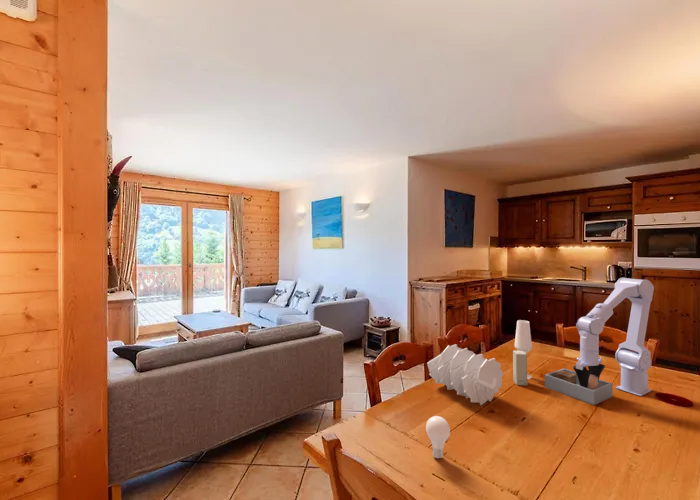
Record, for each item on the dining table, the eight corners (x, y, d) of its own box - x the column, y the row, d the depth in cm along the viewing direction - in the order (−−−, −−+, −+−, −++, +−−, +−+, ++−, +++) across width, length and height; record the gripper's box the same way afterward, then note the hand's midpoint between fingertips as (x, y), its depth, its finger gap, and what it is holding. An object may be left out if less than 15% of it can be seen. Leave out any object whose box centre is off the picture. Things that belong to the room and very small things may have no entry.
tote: (563, 380, 140) (563, 368, 140) (612, 396, 125) (612, 383, 125) (544, 386, 134) (544, 374, 134) (593, 405, 118) (593, 391, 118)
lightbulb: (422, 450, 93) (422, 412, 93) (444, 449, 93) (444, 411, 93) (430, 465, 86) (430, 424, 86) (453, 464, 87) (453, 423, 87)
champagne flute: (532, 374, 146) (532, 320, 145) (531, 380, 140) (531, 323, 140) (515, 371, 149) (515, 318, 149) (513, 376, 144) (513, 321, 143)
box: (527, 386, 134) (528, 354, 134) (516, 385, 135) (516, 354, 135) (523, 380, 140) (523, 350, 139) (512, 380, 140) (512, 349, 140)
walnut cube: (576, 387, 132) (576, 374, 132) (569, 389, 130) (569, 377, 129) (563, 382, 136) (563, 370, 136) (556, 385, 134) (556, 372, 134)
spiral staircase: (449, 390, 140) (502, 413, 118) (420, 379, 132) (470, 402, 111) (461, 348, 144) (514, 363, 122) (433, 335, 137) (484, 349, 115)
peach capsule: (600, 395, 125) (600, 377, 124) (593, 398, 122) (593, 379, 122) (586, 390, 129) (586, 372, 129) (578, 393, 127) (578, 374, 127)
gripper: (587, 343, 132) (587, 377, 133) (567, 349, 125) (567, 384, 126) (608, 348, 126) (607, 383, 127) (588, 354, 119) (587, 391, 120)
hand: (589, 384), depth 126 cm, fingers open, 7 cm apart
